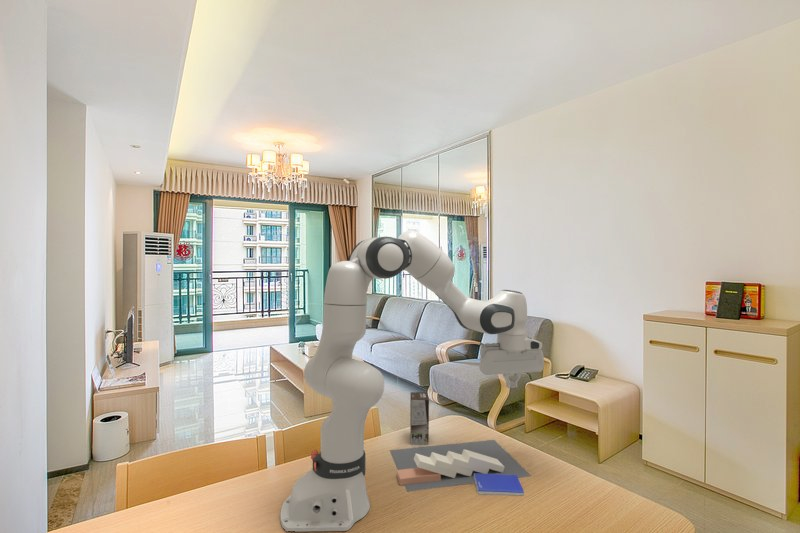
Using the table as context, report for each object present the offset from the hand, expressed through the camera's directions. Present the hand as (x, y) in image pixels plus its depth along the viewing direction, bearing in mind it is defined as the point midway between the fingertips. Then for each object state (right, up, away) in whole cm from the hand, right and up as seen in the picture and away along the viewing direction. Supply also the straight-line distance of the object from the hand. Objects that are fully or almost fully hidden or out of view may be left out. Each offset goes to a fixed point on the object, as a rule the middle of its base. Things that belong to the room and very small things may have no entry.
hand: (511, 387), depth 125 cm
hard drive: (-7, -25, -11) cm, 28 cm away
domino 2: (-14, -24, -3) cm, 28 cm away
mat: (-17, -25, +3) cm, 30 cm away
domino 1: (-19, -24, -4) cm, 31 cm away
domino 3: (-9, -24, -2) cm, 26 cm away
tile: (-23, -24, -5) cm, 34 cm away
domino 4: (-4, -24, -1) cm, 24 cm away
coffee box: (-28, -25, +20) cm, 42 cm away
